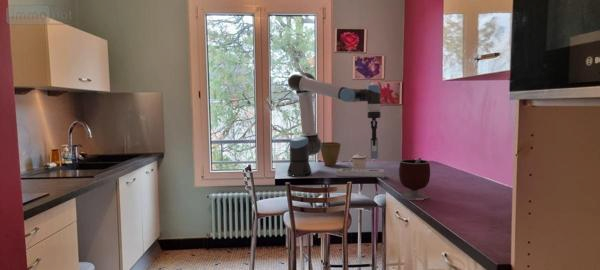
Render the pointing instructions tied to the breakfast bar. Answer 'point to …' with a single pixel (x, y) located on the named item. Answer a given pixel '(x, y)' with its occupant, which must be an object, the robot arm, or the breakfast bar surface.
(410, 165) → the mate gourd
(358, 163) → the teacup with lid
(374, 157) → the plug
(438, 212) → the breakfast bar surface
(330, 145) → the plant pot
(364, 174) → the panel
